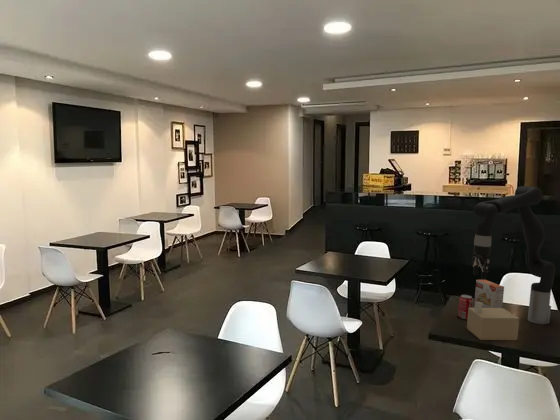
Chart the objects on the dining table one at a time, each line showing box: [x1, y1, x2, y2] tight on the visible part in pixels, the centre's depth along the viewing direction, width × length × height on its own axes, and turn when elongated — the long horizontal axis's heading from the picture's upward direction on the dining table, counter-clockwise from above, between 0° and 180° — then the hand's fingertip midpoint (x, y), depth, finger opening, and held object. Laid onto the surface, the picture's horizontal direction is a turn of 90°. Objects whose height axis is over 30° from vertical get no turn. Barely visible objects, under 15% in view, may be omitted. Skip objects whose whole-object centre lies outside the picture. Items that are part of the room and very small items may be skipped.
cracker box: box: [473, 279, 505, 308], centre depth 233 cm, size 14×6×21 cm, turn 17°
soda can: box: [457, 294, 474, 320], centre depth 237 cm, size 7×7×12 cm
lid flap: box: [468, 301, 520, 321], centre depth 215 cm, size 18×14×6 cm
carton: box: [466, 309, 520, 341], centre depth 216 cm, size 18×14×10 cm
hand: (479, 277), depth 214 cm, fingers open, 8 cm apart
